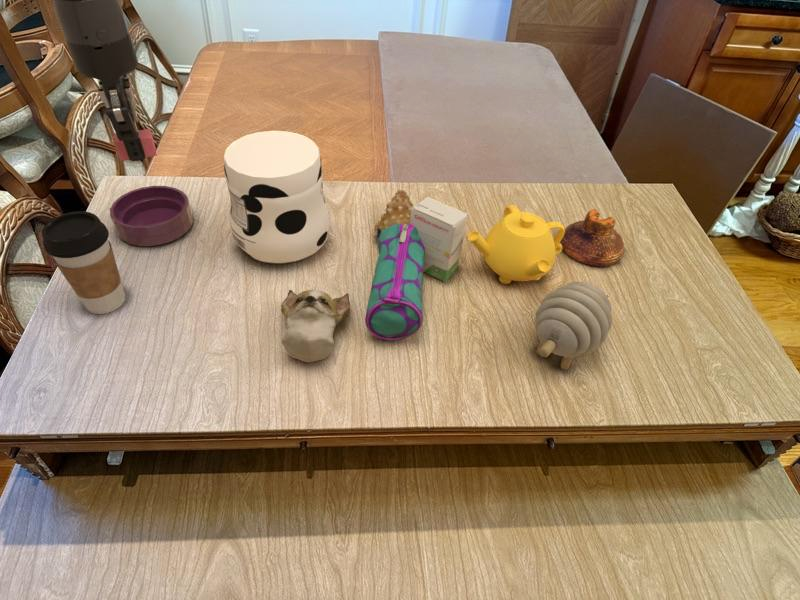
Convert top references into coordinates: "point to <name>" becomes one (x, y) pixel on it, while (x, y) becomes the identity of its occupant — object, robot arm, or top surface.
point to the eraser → (145, 140)
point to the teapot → (519, 246)
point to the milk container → (276, 196)
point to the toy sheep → (572, 321)
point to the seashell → (395, 211)
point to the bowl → (151, 215)
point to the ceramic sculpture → (312, 323)
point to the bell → (593, 241)
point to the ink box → (439, 235)
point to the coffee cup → (85, 259)
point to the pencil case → (397, 284)
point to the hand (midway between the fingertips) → (137, 153)
